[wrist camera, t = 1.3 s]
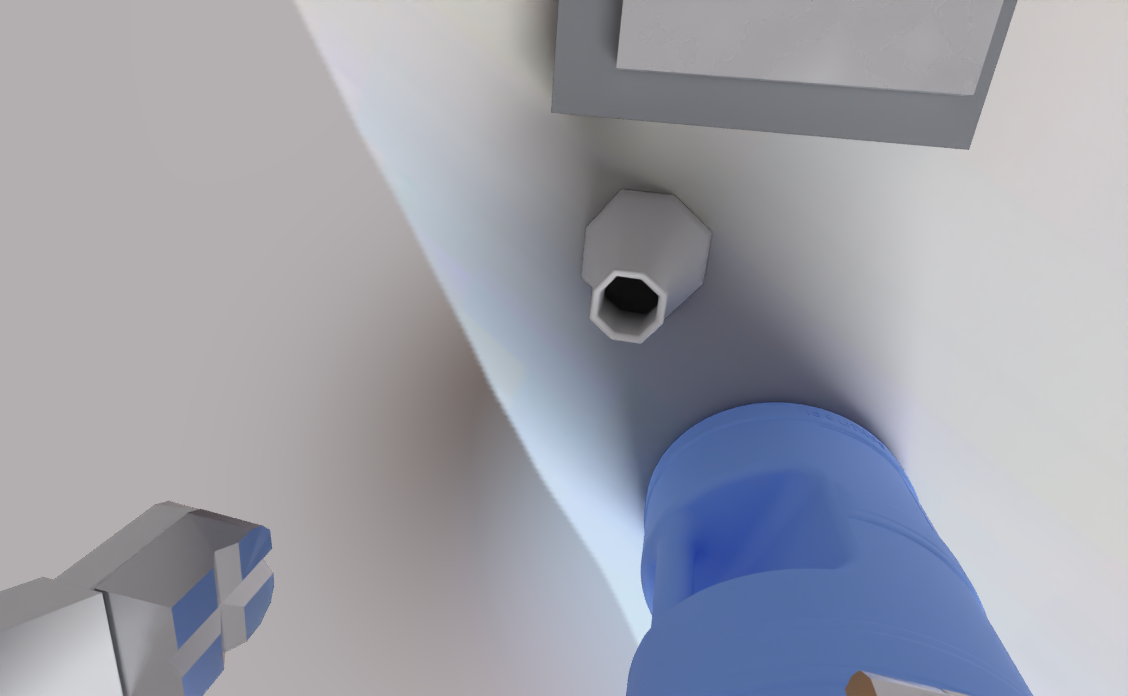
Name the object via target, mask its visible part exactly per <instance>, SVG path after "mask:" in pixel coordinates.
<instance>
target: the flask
mask: <svg viewBox="0 0 1128 696" xmlns="http://www.w3.org/2000/svg"><path fill="white" fill-rule="evenodd" d="M711 237H712V232H711V231H710V230H709V229H708V228H707V227H706V226H705V225H704V224H703V223H702V222H701V221H700V220H699V219H698V218H697V217H696V216H695V215H694V214H693V213H692V212H691V211H690V210H689V209H688V208H687V207H686V206H685V205H684V204H683V203H682V202H681V201H680V200H679V199H678V198H677V197H676V196H675V195H669V194H660V193H651V192H642V191H633V190H623V189H621V190H620V191H619V192H618V193H617V194H616V195H615V197H614V198H613V199H612V200H611V201H610V202H609V203H608V204H607V205H606V206H605V207H604V209H603V210H602V211H601V212H600V213H599V214H598V215H597V216H596V217H595V218H594V219H593V221H592V222H591V223H590V224H589V225H588V226H587V227H586V231H585V241H584V252H583V262H582V272H581V278H582V279H583V280H584V281H585V282H587V283H588V284H589V285H590V286H591V287H592V288H593V289H592V297H591V306H590V316H589V319H590V320H591V321H592V322H593V323H594V324H595V325H596V326H597V327H598V328H599V329H600V330H601V331H603V332H604V333H605V334H606V335H607V336H608V337H609V338H610V339H611V340H618V341H624V342H631V343H638V344H642V343H643V342H644V341H645V340H646V339H647V338H648V337H649V336H650V335H651V334H653V333H654V332H655V331H656V330H657V329H658V328H659V327H660V326H661V325H662V324H663V322H664V318H667V317H668V316H669V315H670V314H671V313H672V312H673V311H674V310H675V309H676V308H677V307H678V306H680V305H681V304H682V303H683V302H684V301H685V300H686V299H687V298H688V297H689V296H690V295H691V294H693V293H694V292H695V291H696V290H697V289H698V288H699V287H700V286H701V285H702V284H703V282H704V276H705V271H706V265H707V259H708V254H709V248H710V243H711Z"/></svg>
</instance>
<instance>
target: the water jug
mask: <svg viewBox="0 0 1128 696" xmlns="http://www.w3.org/2000/svg"><path fill="white" fill-rule="evenodd" d="M644 530H645V534H644V543H643V552H642V560H641V582H642V588H643V593H644V596H645V600H646V603H647V605H648V608H649V610H650V612H651V614H652V624H651V628H650V630H649V631H648V632H647V633H646V635H645V636H644V638H643V639H642V641H641V643H640V645H639V647H638V649H637V651H636V653H635V655H634V658H633V660H632V663H631V667H630V671H629V676H628V683H627V692H626V696H847V695H846V692H845V688H846V686H847V684H848V682H849V680H850V678H851V676H852V675H854V674H855V673H856V672H858V671H859V670H862V671H866V672H871V673H875V674H879V675H884V676H888V677H892V678H897V679H901V680H905V681H910V682H914V683H918V684H923V685H927V686H931V687H935V688H938V689H940V690H941V689H944V690H948V691H953V692H957V693H961V694H966V695H970V696H1033V695H1032V693H1031V691H1030V690H1029V688H1028V686H1027V685H1026V683H1025V681H1024V679H1023V678H1022V676H1021V674H1020V673H1019V671H1018V669H1017V668H1016V666H1015V664H1014V662H1013V661H1012V659H1011V657H1010V656H1009V654H1008V652H1007V651H1006V649H1005V647H1004V646H1003V644H1002V642H1001V640H1000V639H999V637H998V635H997V634H996V632H995V630H994V629H993V627H992V625H991V624H990V622H989V620H988V618H987V616H986V613H985V610H984V608H983V606H982V604H981V601H980V599H979V597H978V595H977V593H976V591H975V589H974V587H973V586H972V584H971V582H970V581H969V579H968V577H967V576H966V574H965V572H964V571H963V569H962V567H961V566H960V564H959V562H958V561H957V559H956V558H955V556H954V555H953V554H952V552H951V551H950V550H949V548H948V547H947V546H946V544H945V543H944V542H943V541H942V540H941V538H940V537H939V535H938V534H937V532H936V530H935V529H934V527H933V525H932V524H931V522H930V520H929V518H928V517H927V515H926V513H925V512H924V510H923V508H922V507H921V505H920V503H919V500H918V497H917V495H916V492H915V490H914V488H913V486H912V484H911V482H910V480H909V479H908V477H907V475H906V474H905V472H904V470H903V469H902V467H901V466H900V464H899V462H898V461H897V460H896V458H895V457H894V456H893V454H892V453H891V452H890V451H889V450H888V449H887V447H886V446H885V445H884V444H883V443H882V442H881V441H879V440H878V439H877V438H876V437H875V436H874V435H872V434H871V433H870V432H868V431H867V430H866V429H864V428H863V427H861V426H859V425H858V424H856V423H854V422H853V421H851V420H849V419H847V418H845V417H843V416H840V415H838V414H835V413H833V412H830V411H827V410H824V409H821V408H817V407H813V406H808V405H803V404H796V403H784V402H768V403H756V404H749V405H744V406H739V407H735V408H732V409H728V410H725V411H722V412H720V413H717V414H715V415H712V416H710V417H708V418H706V419H704V420H702V421H701V422H699V423H697V424H696V425H694V426H693V427H691V428H690V429H688V430H687V431H686V432H684V433H683V434H682V435H681V436H680V437H679V438H678V439H677V440H675V441H674V443H673V444H672V445H671V446H670V447H669V448H668V449H667V451H666V452H665V453H664V455H663V456H662V457H661V459H660V461H659V462H658V464H657V466H656V468H655V470H654V472H653V474H652V477H651V480H650V483H649V486H648V490H647V496H646V504H645V512H644Z"/></svg>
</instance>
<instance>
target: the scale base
mask: <svg viewBox="0 0 1128 696" xmlns="http://www.w3.org/2000/svg"><path fill="white" fill-rule="evenodd" d="M1016 3H1017V0H1004V1H1003V4H1002V8H1001V11H1000V14H999V17H998V20H997V23H996V26H995V30H994V33H993V36H992V39H991V42H990V45H989V49H988V52H987V55H986V58H985V61H984V64H983V67H982V71H981V74H980V77H979V80H978V83H977V86H976V89H975V93H974V95H966V96H959V95H946V94H933V93H920V92H907V91H893V90H880V89H867V88H854V87H841V86H827V85H814V84H801V83H788V82H775V81H762V80H748V79H735V78H722V77H709V76H696V75H683V74H669V73H656V72H643V71H630V70H619V69H617V68H616V65H617V56H618V46H619V36H620V26H621V17H622V7H623V0H559V4H558V19H557V33H556V48H555V63H554V78H553V93H552V108H551V113H561V114H572V115H584V116H595V117H606V118H617V119H629V120H640V121H651V122H662V123H674V124H685V125H696V126H707V127H719V128H730V129H741V130H752V131H764V132H775V133H786V134H797V135H809V136H820V137H831V138H842V139H854V140H865V141H876V142H887V143H899V144H910V145H921V146H932V147H944V148H955V149H966V150H969V148H970V145H971V142H972V139H973V136H974V132H975V129H976V126H977V123H978V120H979V117H980V114H981V111H982V108H983V105H984V102H985V99H986V96H987V92H988V89H989V86H990V83H991V80H992V77H993V74H994V71H995V68H996V65H997V62H998V59H999V56H1000V52H1001V49H1002V46H1003V43H1004V40H1005V37H1006V34H1007V31H1008V28H1009V25H1010V22H1011V19H1012V16H1013V12H1014V9H1015V6H1016Z"/></svg>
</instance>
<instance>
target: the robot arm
mask: <svg viewBox="0 0 1128 696" xmlns="http://www.w3.org/2000/svg"><path fill="white" fill-rule="evenodd" d="M270 535H271V534H270V530H269V529H267V528H265V527H264V526H262V525H258V524H254V523H251V522H247V521H243V520H240V519H236V518H232V517H229V516H225V515H221V514H218V513H214V512H210V511H207V510H203V509H197V508H193V507H189V506H185V505H182V504H178V503H175V502H171V501H166V502H163V503H159V504H155V505H154V506H152V507H151V508H150V509H148V510H147V511H146V512H144V513H143V514H142V515H140V516H139V517H137V518H136V519H135V520H133V521H132V522H131V523H129V524H128V525H127V526H125V527H124V528H123V529H121V530H120V531H119V532H117V533H116V534H114V535H113V536H112V537H110V538H109V539H108V540H106V541H105V542H104V543H102V544H101V545H100V546H99V547H97V548H96V549H94V550H93V551H92V552H90V553H89V554H88V555H86V556H85V557H84V558H82V559H81V560H80V561H78V562H77V563H75V564H74V565H73V566H71V567H70V568H69V569H67V570H66V571H65V572H63V573H62V574H61V575H59V576H58V577H57V578H55V579H54V580H53V579H49V578H45V577H41V578H38V579H36V580H33V581H30V582H27V583H24V584H21V585H18V586H15V587H12V588H9V589H6V590H3V591H1V592H0V696H203V695H204V693H205V692H206V691H207V690H208V689H209V687H210V686H211V685H212V684H213V682H214V681H215V680H216V679H217V677H218V676H219V675H220V673H222V671H223V670H224V661H225V652H227V651H229V650H231V649H232V648H235V647H237V646H239V645H241V644H243V643H245V642H247V640H248V639H249V638H250V636H251V635H252V634H253V633H254V631H255V630H256V629H257V628H258V626H259V625H260V624H261V622H262V619H263V617H264V615H265V613H266V611H267V609H268V607H269V605H270V603H271V598H272V593H273V588H274V578H273V577H274V576H273V572H272V570H271V569H270V568H269V566H268V565H267V563H266V562H265V561H264V559H263V558H264V557H265V556H266V555H267V553H268V552H269V551H270V550H271V549H272V543H271V536H270ZM845 692H846V695H847V696H970V695H966V694H961V693H957V692H953V691H948V690H944V689H941V690H940V689H938V688H935V687H931V686H927V685H923V684H918V683H914V682H910V681H905V680H901V679H897V678H892V677H888V676H884V675H879V674H875V673H871V672H866V671H862V670H859V671H858V672H856V673H855V674H854V675H852V676H851V678H850V680H849V682H848V684H847V686H846V688H845Z"/></svg>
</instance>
